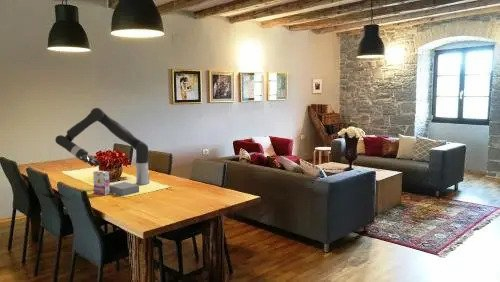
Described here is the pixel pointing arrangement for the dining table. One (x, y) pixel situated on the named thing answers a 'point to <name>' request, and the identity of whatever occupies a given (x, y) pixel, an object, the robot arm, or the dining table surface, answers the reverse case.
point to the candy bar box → (101, 183)
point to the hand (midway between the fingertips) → (96, 164)
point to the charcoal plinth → (124, 188)
